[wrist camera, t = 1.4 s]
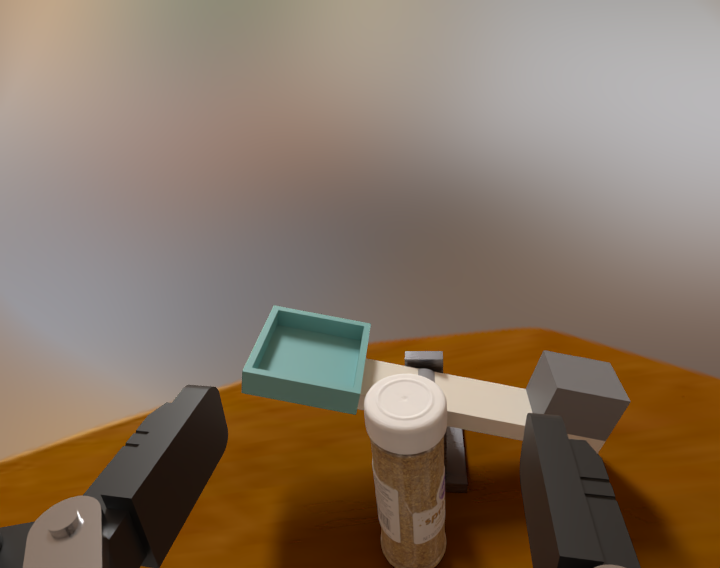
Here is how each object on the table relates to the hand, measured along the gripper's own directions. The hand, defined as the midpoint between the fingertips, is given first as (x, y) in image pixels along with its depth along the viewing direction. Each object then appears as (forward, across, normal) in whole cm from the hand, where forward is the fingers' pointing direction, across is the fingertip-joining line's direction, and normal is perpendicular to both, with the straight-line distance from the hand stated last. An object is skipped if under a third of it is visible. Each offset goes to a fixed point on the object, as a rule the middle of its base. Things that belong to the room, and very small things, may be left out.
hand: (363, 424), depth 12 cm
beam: (+20, -1, +15) cm, 25 cm away
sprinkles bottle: (+12, 0, +22) cm, 25 cm away
